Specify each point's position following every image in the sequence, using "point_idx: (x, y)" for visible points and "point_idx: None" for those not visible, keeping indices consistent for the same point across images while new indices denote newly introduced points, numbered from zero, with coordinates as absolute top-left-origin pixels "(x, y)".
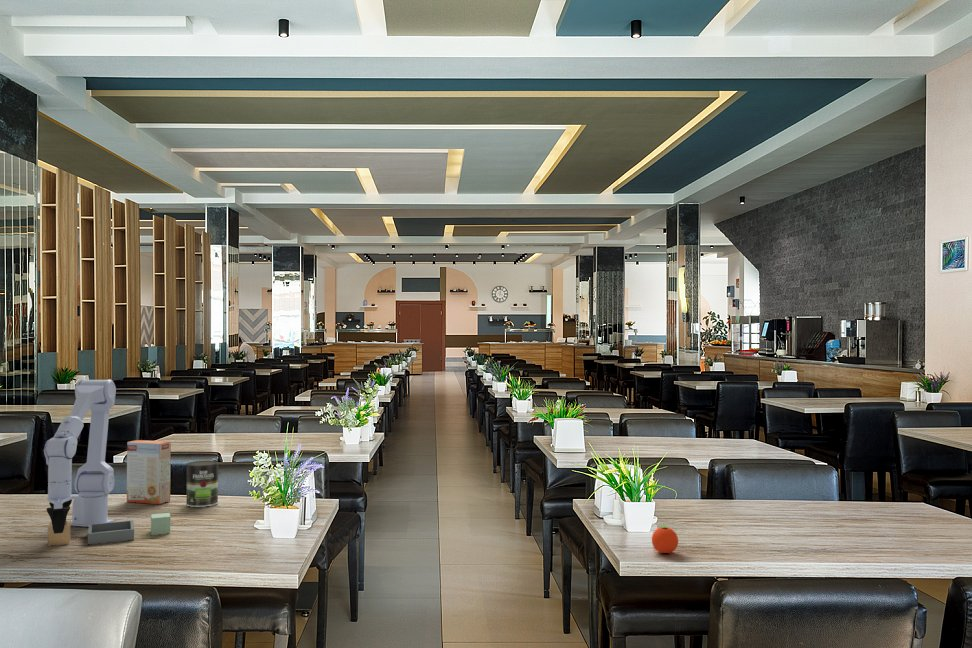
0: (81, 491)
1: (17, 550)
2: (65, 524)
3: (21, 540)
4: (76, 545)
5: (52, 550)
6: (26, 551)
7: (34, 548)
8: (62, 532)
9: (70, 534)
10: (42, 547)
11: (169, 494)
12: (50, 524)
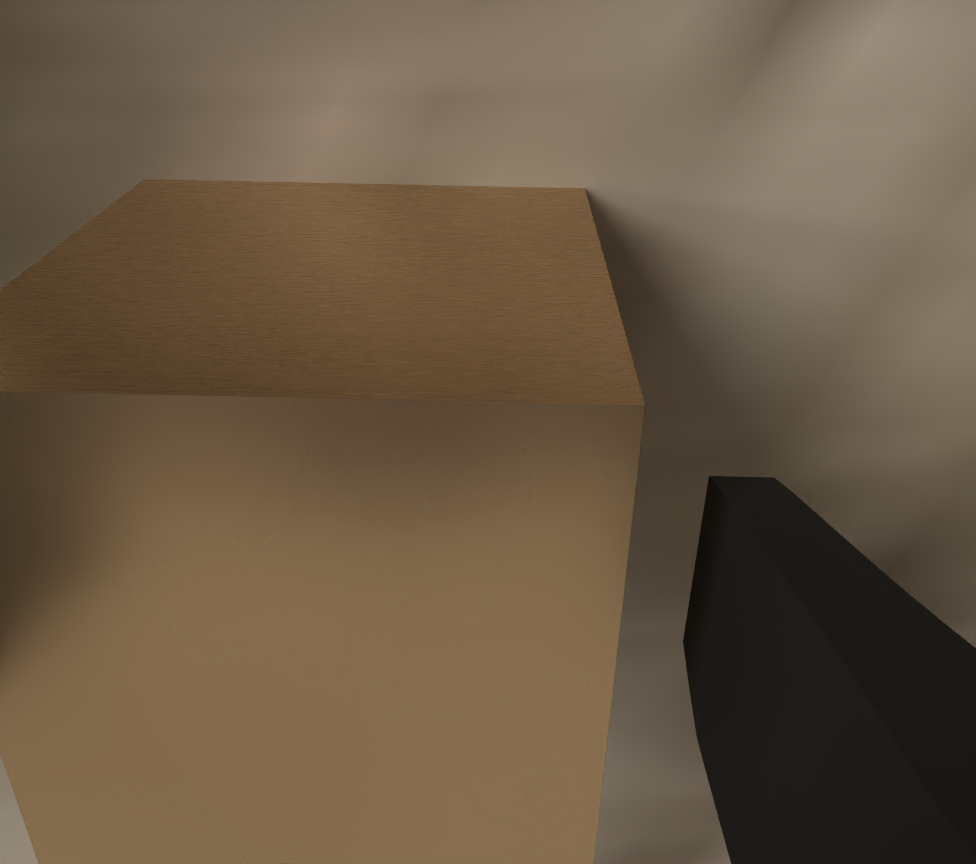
0: None
1: (594, 857)
2: (574, 533)
3: (4, 846)
4: (811, 28)
5: (928, 471)
6: None
7: None
8: (780, 485)
9: (151, 219)
10: None
11: None
12: (352, 855)
